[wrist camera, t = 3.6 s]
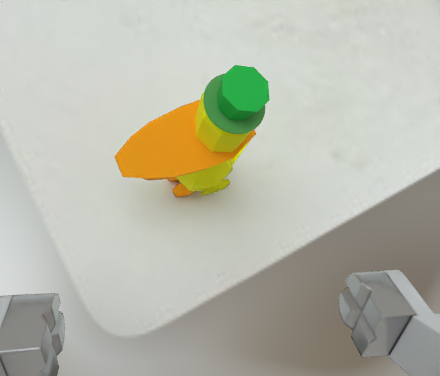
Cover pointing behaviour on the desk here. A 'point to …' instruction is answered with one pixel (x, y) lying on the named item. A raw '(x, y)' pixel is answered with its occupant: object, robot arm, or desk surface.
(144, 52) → the desk surface
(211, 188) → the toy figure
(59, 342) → the robot arm
